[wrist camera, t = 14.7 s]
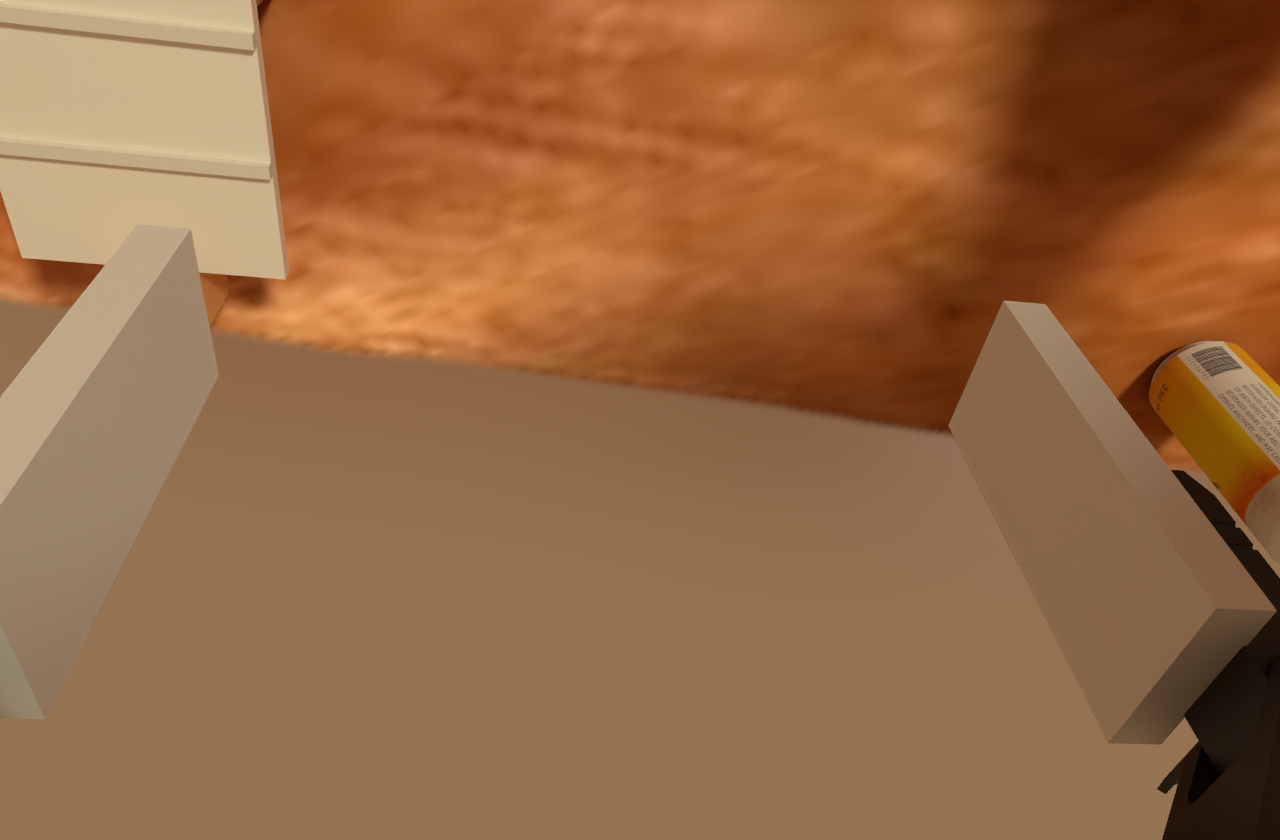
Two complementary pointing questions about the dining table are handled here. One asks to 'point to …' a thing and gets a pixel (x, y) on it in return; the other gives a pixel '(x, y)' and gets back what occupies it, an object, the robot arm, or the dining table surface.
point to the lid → (140, 132)
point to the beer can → (1227, 427)
